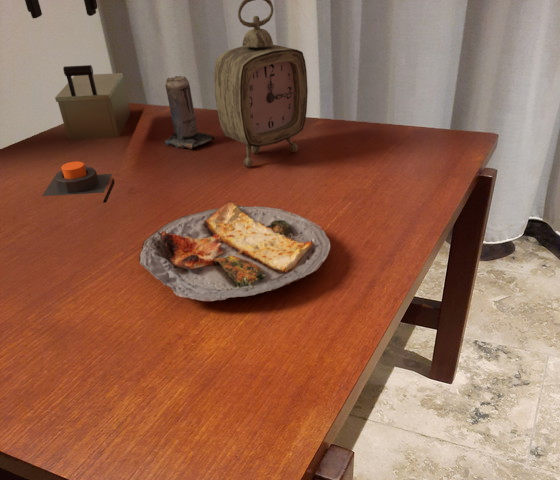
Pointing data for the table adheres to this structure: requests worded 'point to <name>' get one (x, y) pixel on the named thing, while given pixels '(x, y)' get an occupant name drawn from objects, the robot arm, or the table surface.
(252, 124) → the tabletop clock
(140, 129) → the table surface
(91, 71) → the lid
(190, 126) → the beverage can
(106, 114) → the machine
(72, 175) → the button
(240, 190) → the table surface
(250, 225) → the food plate
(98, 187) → the panel
